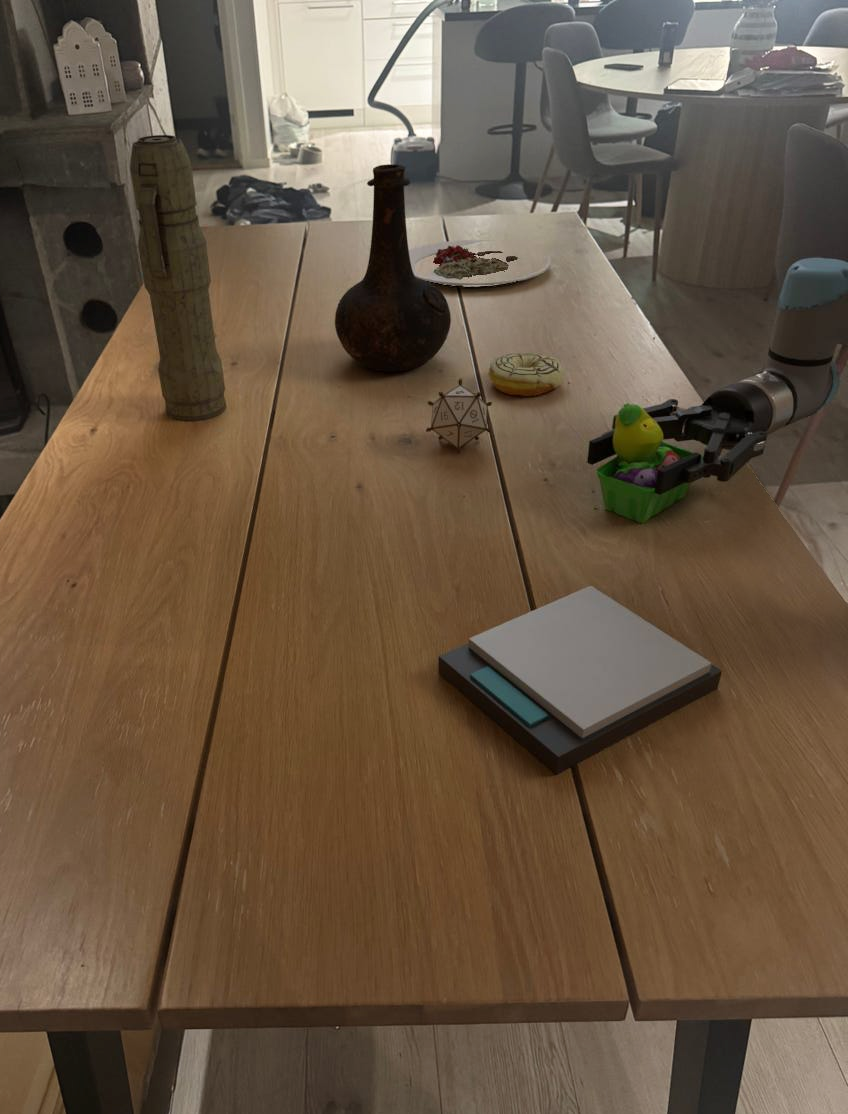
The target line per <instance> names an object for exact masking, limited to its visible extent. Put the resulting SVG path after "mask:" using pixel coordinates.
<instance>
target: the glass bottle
mask: <svg viewBox="0 0 848 1114" xmlns="http://www.w3.org/2000/svg"><path fill="white" fill-rule="evenodd" d="M405 171H406V166H404V165H402V164H398V163H397V164H396V163H394V164H381V165H377V166H375V167H373V169H372V174H373V178H372V179H370V180H368V181H367V182H366V185H367V186H368V187H373V205H372V226H371V238H370V239H371V240H370V249H369V255H368V262H367V268H366V271H365V274H364V276H363V278H362V279H361V280H360V281H359V282H357V283H355V284H354V285H353V286H351V287H350V288H349V289H348V290H347V291H345V293H344V294H343V295H342V297H341V298H340V299H339V302H338V303H337V307H336V309H335V310H336V311H335V315H334V327H335V328H334V329H335V332H336V335H337V338H338V340H339V342H340V344H341V347H343V349H344V350H345V352H346V353H347V354H348V355H349V356H350V357H351V358H352V359H353V360H354V361H355V362H357V363H358V364H359V365H362V366H364V367H365V368H367V369H371V370H375V371H379V372H390V373H391V372H393V373H394V372H402V371H404V372H405V371H409V370H412V369H415V368H418V367H421V366H423V365H424V364H426V363H428V362H429V361H430V360H432V359H433V358H434V357H435V356H436V355H437V354H438V352H439V351H440V350H441V349H442V347H443V346H444V344H445V342H446V340H447V339H448V336H449V333H450V329H451V323H452V317H451V316H452V315H451V311H450V306H449V303H448V301H447V298H446V297H445V295H444V293H442V291H441V290H440V288H438V287H437V286H435V284H433V283H431V282H427V281H424V280H422V279H419V278H416V277H415V275H414V273H413V270H412V267H411V262H410V256H409V250H410V249H409V242H408V232H407V231H408V230H407V219H406V203H405V202H406V201H405V187H406V186H409V185H410V184H411V180H410V179H409V178H407V177H405Z"/></svg>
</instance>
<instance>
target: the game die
mask: <svg viewBox="0 0 848 1114" xmlns="http://www.w3.org/2000/svg"><path fill="white" fill-rule="evenodd" d="M457 383H458V385H457V386H455V387H454V388H452V389H450V390H449V391H448V392H446V393H444V392H443V391H438V396H439V398H438V399H437V400H435V401H434V402H433V401H431V400H429V401H427V405H428V406H432V407H431V420H430V421H431V422H430V427H426V430H425V432H428V433H429V432H431V431H433V432H434V433H436V434H437V435H438V441H440V440H443V439H444V440H445V441H446V442H448V443H449V444H450V445H452V446H453V447H455V448H456V450H455V453H456V455H457V456H459V455H460V454H461V448H463V447H464V446H465V445H467V444H468V443H470V442H471V441H473V440H475V441H479V440H480V437H479V436H480V435H481V434H483V433H484V432H487V433H488V434H489V433H493V430H492V428H490V427H488V407H492V404H493V401H488V402H487V403H486V402H485V401H484V400H483V399H482V398H481V396H482V392H481V391H478V392H477V393H474V392H473V391H472V390H469V388H467V387H465V386H464V385H463V379H462V378H461V377H459V379H458V382H457Z"/></svg>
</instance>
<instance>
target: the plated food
mask: <svg viewBox="0 0 848 1114" xmlns="http://www.w3.org/2000/svg"><path fill="white" fill-rule="evenodd" d="M482 241H483V242H484V241H491V239H490V240H487V239H464V240H461V239H460V240H450V241H449V240H448V241H442V242H434V243H430V244H424V245H421V246H417V247H414V248H412V249H409V256H410V262H411V267H412V270H413V273H414V275H415V277H416V278H419V279H422V280H424V281H429V283H431V282H434V283H440V284H446V285H455V286H463V285H494V284H503V283H511V282H514V283H517V282H516V281H518V282H520V281H526V280H529V279H531V278H535V277H537V276H539V275H541V274H544V273H545V272H546V271H547V270H549V269H550V267H551V265H550V264H552V259H551V256H549V255H548V254H547V253H546V252H545V251H542V252H543V253H545V254H546V256H548V263H547V264H546V265H545V267H543V268H542V269H540V270H539V271H537V272H534V273H532V274H530V275H527V276H523V277H520V278H516V279H510V280H505V281H498V282H488V283H459V280H461V279H462V278H463V277H468V278H469V277H472V275H473V276H476V275H487V274H491V273H496V272H499V271H504V270H507V269H508V266H509V265H508V264H507V263H506V262H503V261H501V260H499V259H496V258H492V259H491V260H490V259H484V258H480V257H479V258H477V257H476V256H474V255H478V256H484V255H485V254H490V253H503V252H501V251H485V252H478V253H477V254H476V253H472V252H469V251H468V249H467V248H466V249H465V248H464V249H463V248H462V247H461V246H463V245H469V244H473V243H476V242H477V243H478V242H482ZM432 255H436V257H434V261H433V263H435V264H440V265H439V267H437V268H436V269H434V271H433V272H430V274H429V275H427V276H422V275H420V274H418V273H417V272H415V270H414V265H415V264H416V263H417V262H418V261H420V260H421V259H424V258H426V257H429V256H432ZM517 259H518V257H516V256H507V257H506V261H507V262H510V261H514V260H517ZM549 266H550V267H549ZM504 272H505V271H504ZM458 279H459V280H458ZM434 283H433V284H434ZM511 284H512V283H511Z"/></svg>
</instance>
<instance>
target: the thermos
mask: <svg viewBox="0 0 848 1114" xmlns="http://www.w3.org/2000/svg"><path fill="white" fill-rule="evenodd" d="M129 162H130V163H129V169H130V170H129V171H130V177H131V183H132V190H133V195H134V201H135V202H134V203H135V207H136V210H137V211H138V216H139V219H138V226H139V234H138V241H137V243H138V244H137V249H138V254H139V261H140V268H141V273H142V279H143V285H144V288H145V290H146V291H147V293H148V295H149V300H150V306H151V312H152V316H153V317H152V318H153V323H154V329H155V330H154V331H155V335H156V342H157V347H158V354H159V364H158V369H157V371H158V377H159V383H160V389H161V395H162V397H163V399H164V404H165V413H166V415H167V414H168V415H167V416H168V417H169V416H170V417H169V418H171V417H172V418H171V419H173V418H174V419H173V420H176V419H180V420H179V421H182V420H198V421H203V420H202V419H205V420H208V418H209V419H212V418H215V417H217V416H219V415H221V414H222V413H223V411H224V412H225V410H226V409H227V402H226V399H225V391H226V385H225V377H224V370H223V362H222V359H221V357H220V355H219V352H218V351H217V346H216V337H215V330H214V322H213V314H212V313H213V312H212V306H211V299H210V292H209V289H210V287H211V286H210V285H211V282H212V279H211V271H210V262H209V254H208V247H207V239H206V237H205V235H204V233H203V231H202V228H201V225H200V222H199V221H200V220H199V215H198V214H197V210H196V206H197V198H196V189H195V184H194V175H193V167H192V162H191V159H190V156H189V154H188V151H187V150H186V147H185V145H184V143H183V141H182V139H180V138H176V135H170V134H156V135H155V134H154V135H145V136H142V137H139V138H137V140H136V141H134V142H132V147H131V154H130V161H129ZM225 408H226V409H225Z"/></svg>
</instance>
